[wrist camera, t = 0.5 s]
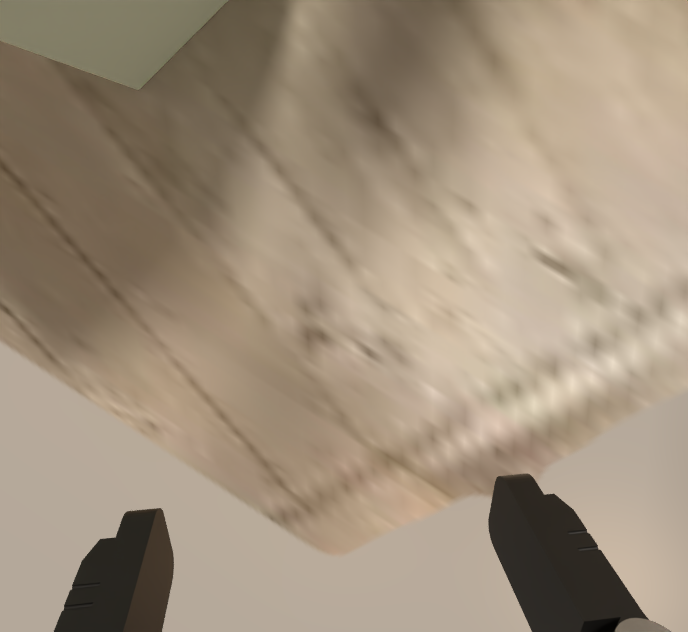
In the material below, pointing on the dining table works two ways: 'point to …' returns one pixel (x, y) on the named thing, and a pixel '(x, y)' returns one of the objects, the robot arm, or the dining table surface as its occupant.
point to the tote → (105, 33)
